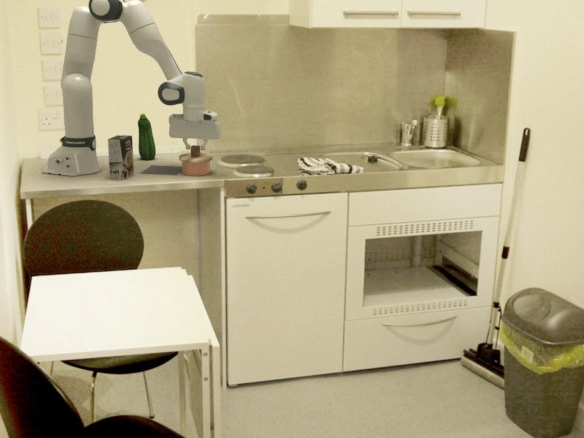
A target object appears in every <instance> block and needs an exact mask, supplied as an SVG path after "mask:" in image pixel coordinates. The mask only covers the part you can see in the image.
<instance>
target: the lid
mask: <svg viewBox="0 0 584 438" xmlns="http://www.w3.org/2000/svg"><path fill="white" fill-rule="evenodd" d="M178 160H179V161H180V162H181V163H182V162H188V163H201V162H208V161H210V162H211V161H213V155H212V154H211V153H207V152H206V153H205V152H201V145H200V144H199V145H190V152H187V153H183V154H180V155H178Z"/></svg>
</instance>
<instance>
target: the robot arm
mask: <svg viewBox="0 0 584 438" xmlns="http://www.w3.org/2000/svg"><path fill="white" fill-rule="evenodd" d="M117 22H120V23H122V25H123V26H124V28H125V30H126V32H127V34H128V36H129V38H130V40H131V42H132V44H133V45H134V47H135V48H136V49H137V50H138V51H139V52H141V53H142V54H145V55H147V56H149V57H150V58H152V59H154V61H156V62H157V64H158V66H159V68H160V69H161V72H162V73H163V74H164V77H165V78H166V81H163V82H161V84H160V85H159V86H158V89H157V96H158V99H159V101H160V102H161V103H162V104H163V105H165V106H170V107H171V106H176V105H181V106H182V113H172V114H171V115H170V114H169V117H168V123H169V127H168V128H169V131H168V136H169V138H172V139H182V142H183V144H184V145H185V150H187V151H189V150H190V151H191V144H189V143H188V139H191V140H192V139H193V140H195V139H196V140H197V139H198V140H202V141H203V144H201V145H200V151H205V150H206V145H207V143H208V142H209V140H219V139H221V137H222V128H221V123H220V121H219V120H218V118H219V114H218V113H217V112H215V111H212V110H209V109H207V105H206V102H205V101H206V94H207V93H206V82H205V79H204V76H203V74H201V73H200V72H196V71H184V72H183V73H182V70H181V69H180V67H179V65H178V64H177V62H176V60H175V58H174V56H173V55H172V52H171V50H170V49H169V48H168V45H167V43H166V42H165V40H164V38H163V37H162V34H161V32H160V30H159V27H158V26H157V24H156V21H155V20H154V18H153V16H152V14H151V12H150V10H149V9H148V7H147V6H146V5H145V3H144V2H143V1H141V0H128V1H126V0H88V6H87V5H80V6H79V5H78V6H77V7H75V8H74V9H73V11H72V13H71V16H70V19H69V25H68V28H67V37H66V45H65V53H64V61H63V65H62V72H61V79H60V88H61V92H62V105H63V107H62V108H63V121H64V122H63V124H64V136H62V137H61V138H59V143H61V145H60V146H58V148H56V149H55V150H54V151H53V152H52V153H51V154H50V155H49V156H48V159H47V166H45V167H44V168H42V169H41V170H42V171H41V172H43V174H48V173H51V174H50V175H58V174H61V176H69V177H70V176H71V177H76V176H81V175H90V174H95V173H98V172H101V170H102V168H101V167H100V163H99V160H98V156H97V155H98V154H97V139H96V135H95V130H94V129H95V126H94V108H93V107H94V103H93V102H94V97H93V95H94V94H93V84H92V82H91V80H92V74H93V71H94V69H93V68H94V64H95V61H96V53H97V45H98V37H99V31H100V26H101V25H102V24H109V23H117Z"/></svg>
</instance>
